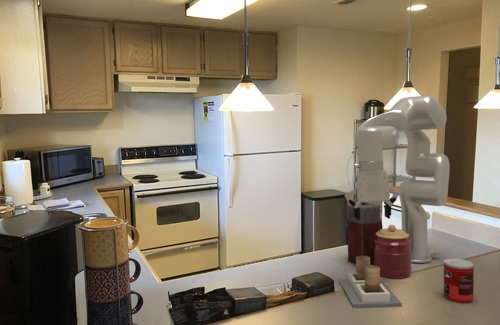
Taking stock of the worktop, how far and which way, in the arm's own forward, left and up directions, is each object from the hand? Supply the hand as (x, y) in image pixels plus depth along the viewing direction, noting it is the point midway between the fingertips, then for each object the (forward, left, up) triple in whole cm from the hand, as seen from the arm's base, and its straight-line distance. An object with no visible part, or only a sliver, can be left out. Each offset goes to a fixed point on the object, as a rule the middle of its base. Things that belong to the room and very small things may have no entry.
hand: (372, 218), depth 127 cm
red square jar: (-5, -26, -23) cm, 35 cm away
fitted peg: (+3, -1, -22) cm, 22 cm away
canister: (-11, -14, -23) cm, 29 cm away
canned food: (-23, +9, -23) cm, 34 cm away
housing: (+3, +4, -23) cm, 24 cm away
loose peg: (+3, +9, -22) cm, 24 cm away
